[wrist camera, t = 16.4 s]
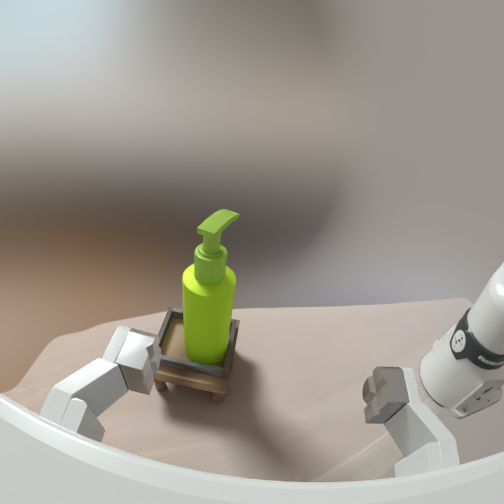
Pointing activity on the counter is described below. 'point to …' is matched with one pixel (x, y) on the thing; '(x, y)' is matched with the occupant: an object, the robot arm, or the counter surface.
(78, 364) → the counter surface
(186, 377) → the stool
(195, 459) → the counter surface
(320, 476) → the counter surface
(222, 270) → the soap dispenser
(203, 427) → the counter surface
